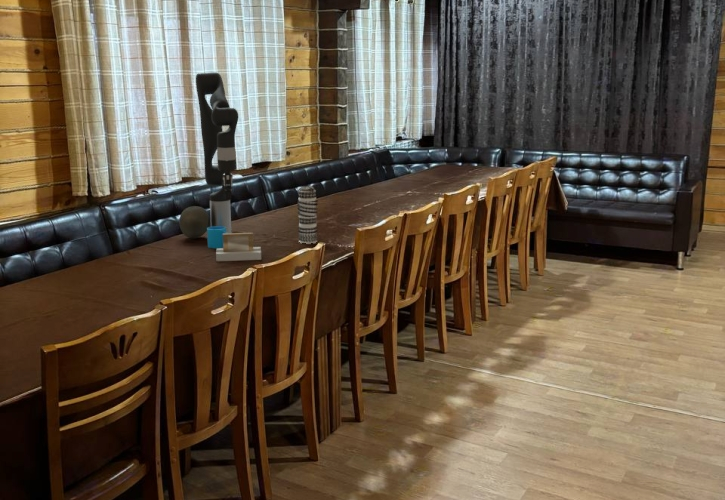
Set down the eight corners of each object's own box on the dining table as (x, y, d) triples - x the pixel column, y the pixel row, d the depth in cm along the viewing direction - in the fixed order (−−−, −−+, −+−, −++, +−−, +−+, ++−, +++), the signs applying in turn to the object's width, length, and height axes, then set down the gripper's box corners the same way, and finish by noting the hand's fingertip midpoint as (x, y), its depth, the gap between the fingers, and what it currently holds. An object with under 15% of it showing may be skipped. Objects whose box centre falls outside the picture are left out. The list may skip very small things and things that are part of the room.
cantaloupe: (173, 239, 308) (171, 207, 304) (194, 234, 320) (192, 203, 317) (196, 243, 302) (195, 210, 298) (217, 237, 314) (215, 205, 310)
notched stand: (217, 255, 280) (216, 248, 279) (260, 253, 283) (260, 246, 283) (216, 261, 271) (215, 254, 270) (261, 259, 274) (261, 252, 273)
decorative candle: (315, 244, 300) (314, 189, 294) (295, 243, 302) (294, 188, 296) (320, 240, 309) (320, 186, 303) (301, 239, 310) (300, 185, 305)
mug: (203, 246, 296) (202, 228, 294) (217, 243, 302) (216, 225, 300) (223, 250, 289) (222, 231, 287) (236, 246, 296) (236, 228, 294)
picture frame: (223, 254, 277) (222, 233, 275) (253, 253, 279) (252, 232, 277) (223, 256, 275) (222, 234, 272) (253, 255, 277) (252, 233, 274)
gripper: (217, 156, 278) (219, 194, 282) (217, 160, 265) (219, 201, 269) (235, 155, 279) (237, 194, 284) (236, 160, 266) (238, 200, 270)
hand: (228, 197), depth 276 cm, fingers open, 8 cm apart
